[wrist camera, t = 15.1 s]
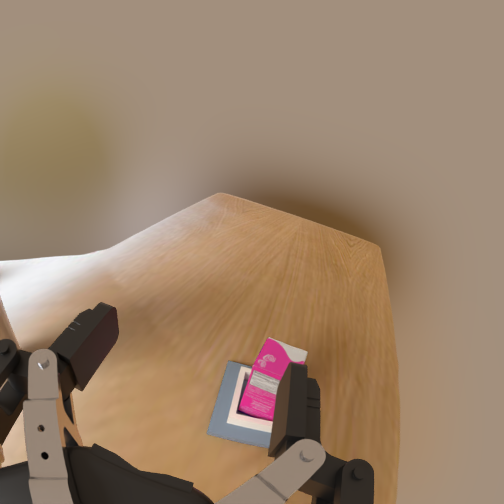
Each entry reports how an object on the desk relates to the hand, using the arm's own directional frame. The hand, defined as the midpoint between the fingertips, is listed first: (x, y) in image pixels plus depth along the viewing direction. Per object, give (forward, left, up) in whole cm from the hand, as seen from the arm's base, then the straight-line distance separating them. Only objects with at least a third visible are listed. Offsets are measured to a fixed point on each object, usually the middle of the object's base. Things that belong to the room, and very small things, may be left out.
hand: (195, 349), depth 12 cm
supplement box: (+8, +16, -27) cm, 32 cm away
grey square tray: (+8, +16, -28) cm, 33 cm away
